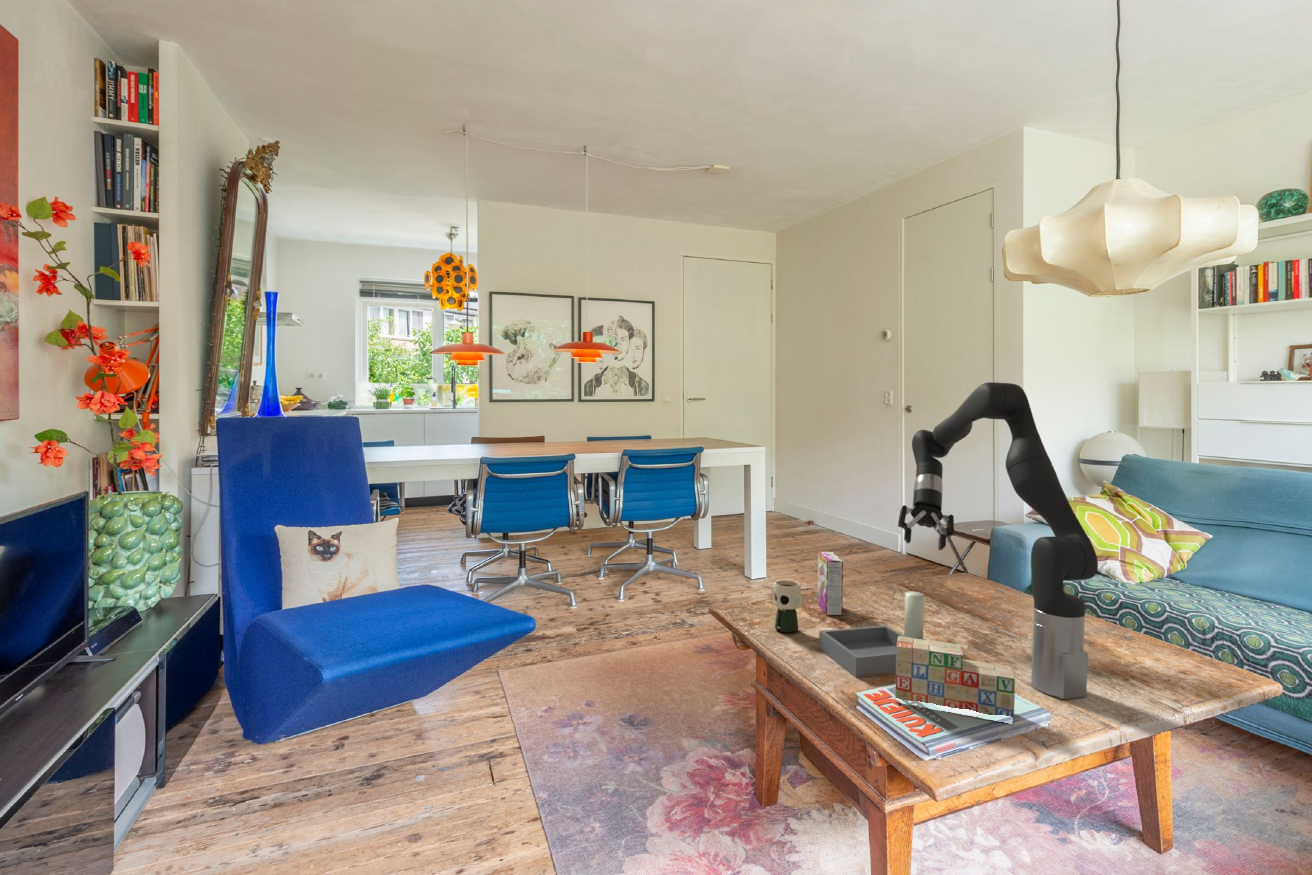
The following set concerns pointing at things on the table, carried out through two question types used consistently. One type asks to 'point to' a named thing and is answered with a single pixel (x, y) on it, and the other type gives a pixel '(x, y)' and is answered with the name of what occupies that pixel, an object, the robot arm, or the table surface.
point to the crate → (862, 649)
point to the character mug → (787, 604)
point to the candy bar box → (830, 583)
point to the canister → (914, 615)
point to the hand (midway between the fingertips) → (924, 545)
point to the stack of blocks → (952, 678)
